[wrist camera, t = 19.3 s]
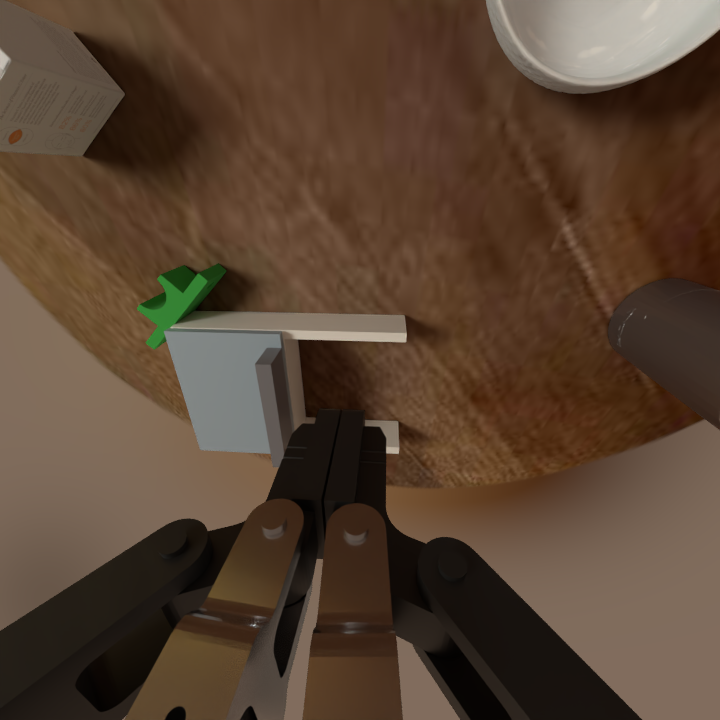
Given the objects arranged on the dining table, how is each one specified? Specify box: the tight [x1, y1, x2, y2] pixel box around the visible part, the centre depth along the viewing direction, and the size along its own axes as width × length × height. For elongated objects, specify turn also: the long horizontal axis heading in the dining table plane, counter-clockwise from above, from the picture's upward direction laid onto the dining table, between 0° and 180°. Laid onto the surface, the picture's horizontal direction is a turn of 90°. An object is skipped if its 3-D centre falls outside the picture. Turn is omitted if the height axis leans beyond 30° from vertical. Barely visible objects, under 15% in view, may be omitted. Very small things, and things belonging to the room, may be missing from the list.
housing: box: [170, 311, 407, 454], centre depth 40 cm, size 24×16×5 cm, turn 90°
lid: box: [164, 328, 295, 467], centre depth 36 cm, size 12×16×4 cm
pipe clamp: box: [137, 263, 226, 349], centre depth 36 cm, size 11×4×5 cm, turn 135°
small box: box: [0, 0, 125, 156], centre depth 26 cm, size 8×6×10 cm
